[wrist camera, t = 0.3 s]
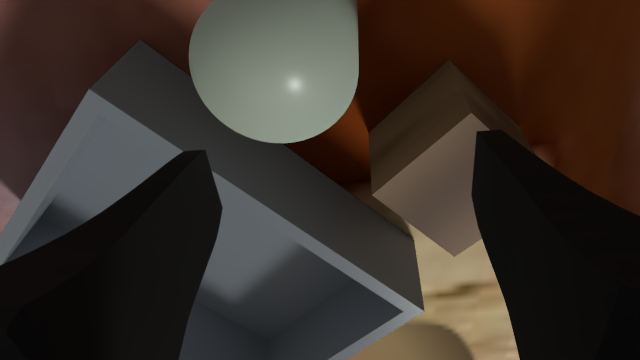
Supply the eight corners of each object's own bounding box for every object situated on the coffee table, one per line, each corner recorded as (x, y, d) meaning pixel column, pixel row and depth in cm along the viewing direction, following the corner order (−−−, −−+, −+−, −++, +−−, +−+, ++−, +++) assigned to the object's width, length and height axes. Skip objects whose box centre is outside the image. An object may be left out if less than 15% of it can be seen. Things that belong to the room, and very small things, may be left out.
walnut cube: (518, 126, 23) (555, 189, 18) (438, 188, 25) (454, 256, 21) (448, 58, 21) (471, 112, 17) (368, 132, 23) (372, 195, 19)
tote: (414, 239, 27) (424, 311, 23) (272, 341, 33) (260, 412, 29) (139, 39, 21) (88, 88, 17) (30, 211, 27) (-25, 276, 23)
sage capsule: (383, -4, 19) (394, 64, 14) (305, 81, 22) (287, 169, 16) (286, -97, 18) (254, -63, 12) (213, 7, 20) (157, 77, 14)
